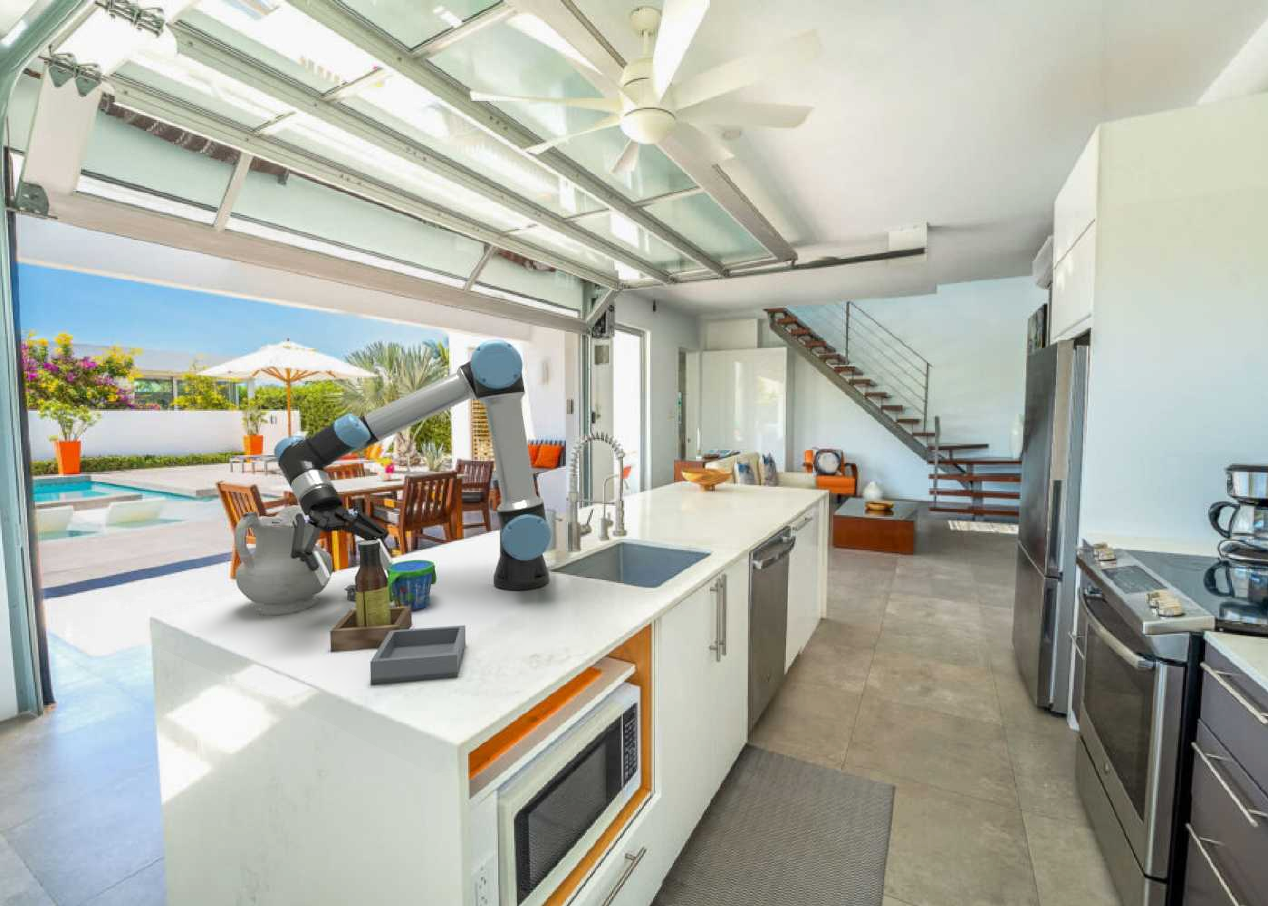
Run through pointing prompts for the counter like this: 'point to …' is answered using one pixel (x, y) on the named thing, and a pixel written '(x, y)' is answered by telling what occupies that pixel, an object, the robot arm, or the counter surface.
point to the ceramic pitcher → (276, 564)
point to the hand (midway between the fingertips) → (359, 573)
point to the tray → (419, 655)
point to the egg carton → (351, 592)
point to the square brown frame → (367, 630)
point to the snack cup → (411, 583)
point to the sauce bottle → (371, 587)
